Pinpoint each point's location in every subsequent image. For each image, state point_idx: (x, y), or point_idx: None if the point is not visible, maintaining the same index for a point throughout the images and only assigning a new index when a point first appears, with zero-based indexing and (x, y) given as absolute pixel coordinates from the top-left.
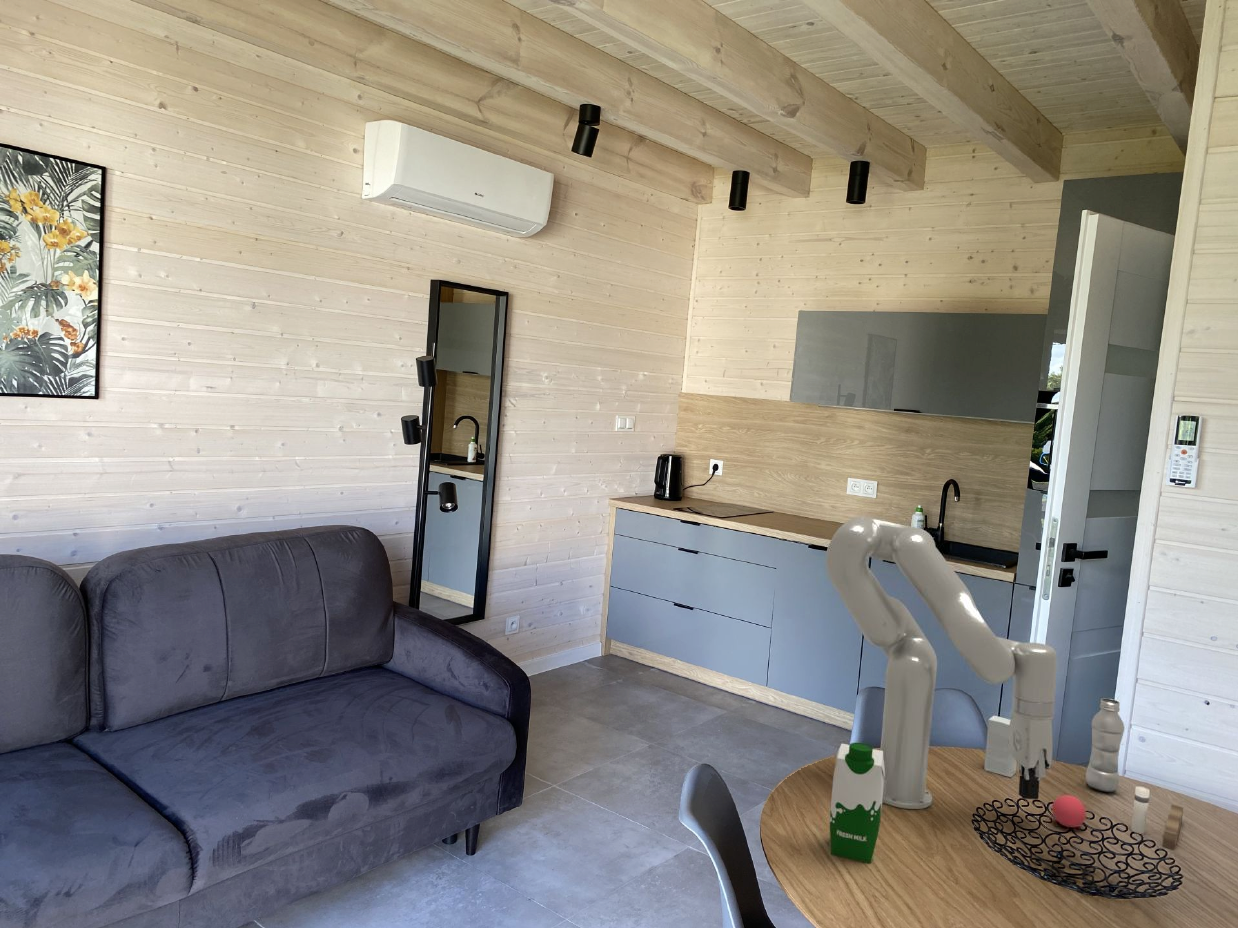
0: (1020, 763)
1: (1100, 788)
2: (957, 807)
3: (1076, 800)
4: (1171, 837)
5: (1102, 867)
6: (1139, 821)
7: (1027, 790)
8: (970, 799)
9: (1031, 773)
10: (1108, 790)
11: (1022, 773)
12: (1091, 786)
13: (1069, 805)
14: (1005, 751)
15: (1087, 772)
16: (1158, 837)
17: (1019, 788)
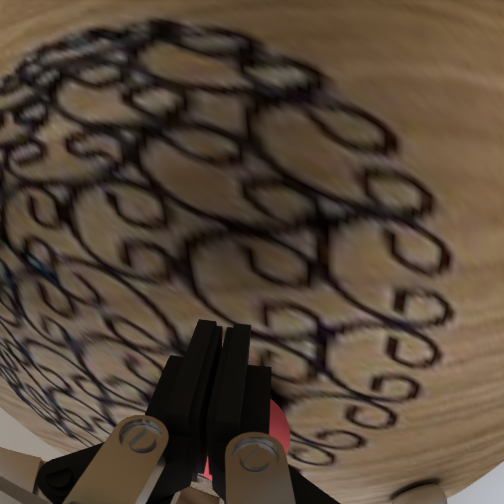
0: (17, 502)
1: (402, 496)
2: (382, 36)
3: (210, 478)
4: None
5: (24, 334)
6: (219, 502)
7: (172, 370)
8: (462, 151)
9: (51, 466)
10: (393, 500)
11: (226, 453)
12: (420, 486)
13: None
14: None
15: (436, 502)
16: (212, 491)
17: (238, 348)
